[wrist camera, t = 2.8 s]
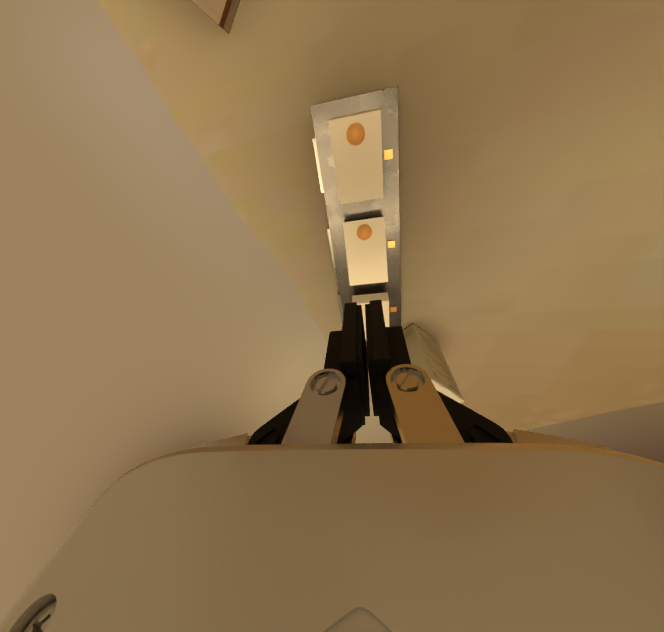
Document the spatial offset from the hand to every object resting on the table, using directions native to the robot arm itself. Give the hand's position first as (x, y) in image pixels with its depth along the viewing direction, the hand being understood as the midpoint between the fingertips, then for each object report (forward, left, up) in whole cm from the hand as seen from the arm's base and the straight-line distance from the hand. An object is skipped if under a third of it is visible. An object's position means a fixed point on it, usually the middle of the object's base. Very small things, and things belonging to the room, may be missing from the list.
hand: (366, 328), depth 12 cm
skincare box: (+21, +7, -25) cm, 33 cm away
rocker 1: (-6, 0, -19) cm, 20 cm away
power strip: (+3, 0, -25) cm, 25 cm away
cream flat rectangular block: (+3, 0, -19) cm, 19 cm away
